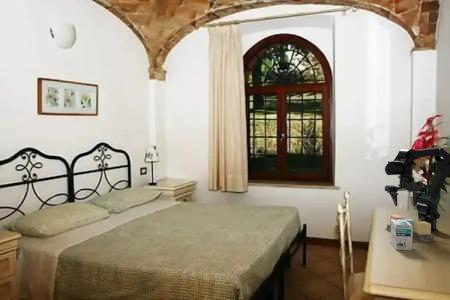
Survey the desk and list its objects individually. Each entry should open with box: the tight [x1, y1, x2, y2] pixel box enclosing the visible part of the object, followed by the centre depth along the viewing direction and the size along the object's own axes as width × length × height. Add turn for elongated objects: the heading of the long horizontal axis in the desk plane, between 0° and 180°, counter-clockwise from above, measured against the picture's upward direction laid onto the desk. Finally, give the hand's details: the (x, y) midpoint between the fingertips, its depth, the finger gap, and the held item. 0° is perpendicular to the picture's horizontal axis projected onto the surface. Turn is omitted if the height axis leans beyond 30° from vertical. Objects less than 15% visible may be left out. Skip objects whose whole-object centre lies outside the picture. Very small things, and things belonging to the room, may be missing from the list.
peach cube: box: [389, 214, 406, 225], centre depth 188 cm, size 5×5×5 cm
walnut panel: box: [385, 224, 435, 243], centre depth 182 cm, size 12×21×3 cm, turn 3°
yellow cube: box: [414, 221, 432, 235], centre depth 175 cm, size 5×5×5 cm
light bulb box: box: [390, 219, 413, 251], centre depth 164 cm, size 11×7×11 cm, turn 168°
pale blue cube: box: [400, 218, 416, 231], centre depth 181 cm, size 5×5×5 cm
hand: (405, 206), depth 189 cm, fingers open, 9 cm apart
